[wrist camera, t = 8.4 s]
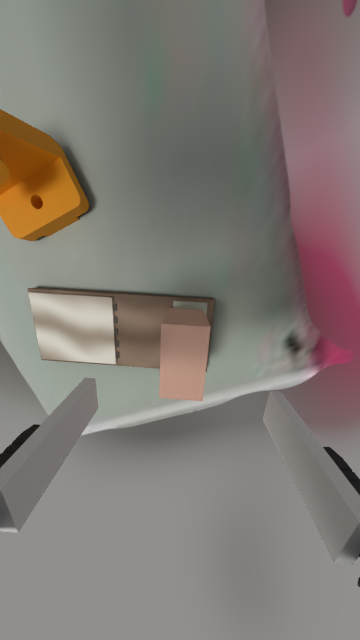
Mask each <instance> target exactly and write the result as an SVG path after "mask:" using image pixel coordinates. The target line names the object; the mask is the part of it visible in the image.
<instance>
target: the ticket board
mask: <svg viewBox="0 0 360 640" xmlns="http://www.w3.org/2000/svg"><path fill="white" fill-rule="evenodd" d="M28 293H29V298H30V303H31V308H32V314H33V319H34V324H35V329H36V334H37V339H38V344H39V349H40V354H41V359H42V360H50V361H64V362H78V363H91V364H105V365H119V366H132V367H146V368H160V349H161V323H162V321H163V319H164V317H165V315H166V313H167V311H168V310H169V308H182V309H198V310H204V312H205V315H206V317H207V319H208V322H209V324H210V327H211V328H212V319H213V310H214V302H215V300H214V299H213V298H198V297H182V296H165V295H149V294H132V293H116V292H100V291H83V290H67V289H50V288H28ZM210 337H211V329H210ZM209 346H210V338H209ZM208 355H209V347H208ZM207 363H208V356H207ZM206 372H207V365H206Z"/></svg>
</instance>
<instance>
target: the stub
mask: <svg viewBox="0 0 360 640" xmlns="http://www.w3.org/2000/svg"><path fill="white" fill-rule="evenodd" d="M210 329H211V327H210V324H209V322H208V319H207V317H206V315H205V312H204V310H198V309H182V308H169V310H168V311H167V313H166V315H165V317H164V319H163V321H162V323H161V349H160V391H159V398H169V399H182V400H195V401H203V392H204V383H205V374H206V365H207V356H208V347H209V338H210Z"/></svg>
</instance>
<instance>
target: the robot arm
mask: <svg viewBox="0 0 360 640" xmlns="http://www.w3.org/2000/svg"><path fill="white" fill-rule="evenodd" d="M97 409H98V401H97V392H96V383H95V379H94V378H84V379H83V380H82V382H81V383H80V384H79V385H78V386H77V387H76V388H75V389H74V390H73V391H72V392H71V393H70V394H69V395H68V396H67V398H66V399H65V400H64V401H63V402H62V403H61V404H60V405H59V406H58V407H57V408H56V409H55V410H54V411H53V412H52V414H51V415H50V416H49V417H48V418H47V419H46V420H45V421H44V422H43V423H42V424H41V425H33V426H31V427H30V428H29V429H27V430H25V431H24V432H23V433H21V434H20V435H19V436H18V437H17V438H16V440H14V441H13V442H12V444H11V445H9V446H8V447H7V448H6V449H5V450H4V452H3V453H2V454H0V531H6V532H16V533H18V532H19V531H20V529H21V528H22V526H23V524H24V523H25V521H26V520H27V518H28V517H29V515H30V513H31V512H32V510H33V509H34V507H35V506H36V504H37V503H38V501H39V500H40V498H41V496H42V494H43V493H44V492H45V490H46V488H47V487H48V485H49V484H50V482H51V481H52V479H53V478H54V476H55V474H56V473H57V471H58V470H59V468H60V467H61V465H62V464H63V462H64V460H65V459H66V457H67V456H68V454H69V453H70V451H71V449H72V448H73V446H74V445H75V443H76V442H77V440H78V439H79V437H80V435H81V434H82V432H83V431H84V429H85V428H86V426H87V425H88V423H89V421H90V420H91V418H92V417H93V415H94V414H95V412H96V410H97ZM263 422H264V424H265V426H266V428H267V430H268V432H269V434H270V436H271V437H272V440H273V441H274V444H275V446H276V448H277V450H278V451H279V454H280V456H281V458H282V460H283V462H284V464H285V466H286V467H287V470H288V472H289V473H290V476H291V478H292V480H293V482H294V484H295V485H296V487H297V490H298V491H299V494H300V495H301V497H302V500H303V501H304V503H305V505H306V507H307V509H308V511H309V513H310V515H311V517H312V519H313V521H314V523H315V525H316V527H317V529H318V531H319V533H320V535H321V537H322V539H323V541H324V543H325V545H326V547H327V549H328V551H329V553H330V555H331V557H332V559H333V561H334V562H335V563H345V564H354V563H355V561H356V560H357V558H358V557H360V479H359V478H358V477H357V476H356V474H355V473H354V472H352V469H351V468H350V467H349V466H348V465H347V463H346V462H345V461H344V460H343V458H342V457H340V456H339V455H338V454H337V453H336V452H335V451H334V450H332V449H331V448H330V447H322V445H321V444H320V443H319V442H318V440H317V439H316V438H315V436H314V435H313V434H312V432H311V431H310V430H309V428H308V427H307V426H306V425H305V423H304V422H303V421H302V419H301V418H300V417H299V415H298V414H297V413H296V411H295V410H294V409H293V408H292V406H291V405H290V404H289V402H288V401H287V400H286V398H285V397H284V396H283V394H282V393H281V392H275V391H270V394H269V398H268V402H267V406H266V409H265V413H264V417H263ZM358 586H359V587H360V578H359V579H358Z"/></svg>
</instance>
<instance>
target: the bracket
mask: <svg viewBox="0 0 360 640" xmlns="http://www.w3.org/2000/svg"><path fill="white" fill-rule="evenodd" d="M88 209H89V202H88V200H87V198H86V196H85V194H84V192H83V190H82V188H81V186H80V184H79V182H78V180H77V178H76V176H75V174H74V172H73V170H72V168H71V166H70V164H69V161H68V159H67V157H66V155H65V153H64V151H63V149H62V147H61V146H60V145H59V144H58V143H57V142H55V141H54V140H53V139H52V138H51V137H50V136H49V135H47V134H46V133H44V132H42V131H40V130H38V129H36V128H34V127H32V126H31V125H29V124H27V123H25V122H23V121H21V120H19V119H18V118H16V117H14V116H12V115H10V114H8V113H6V112H5V111H3V110H1V109H0V216H1V218H2V219H3V221H4V223H5V224H6V226H7V227H8V229H9V231H10V232H11V234H12V235H13V236H14V237H16V238H19V239H24V240H29V241H34V240H36V239H38V238H40V237H42V236H47V237H48V236H50V235H52V234H54V233H55V232H57V231H59V230H61V229H63V228H65V227H66V226H68V225H70V224H72V223H74V222H75V221H77V220H79V218H78V216H80V215H82V214H83V213H85V212H87V210H88Z"/></svg>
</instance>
